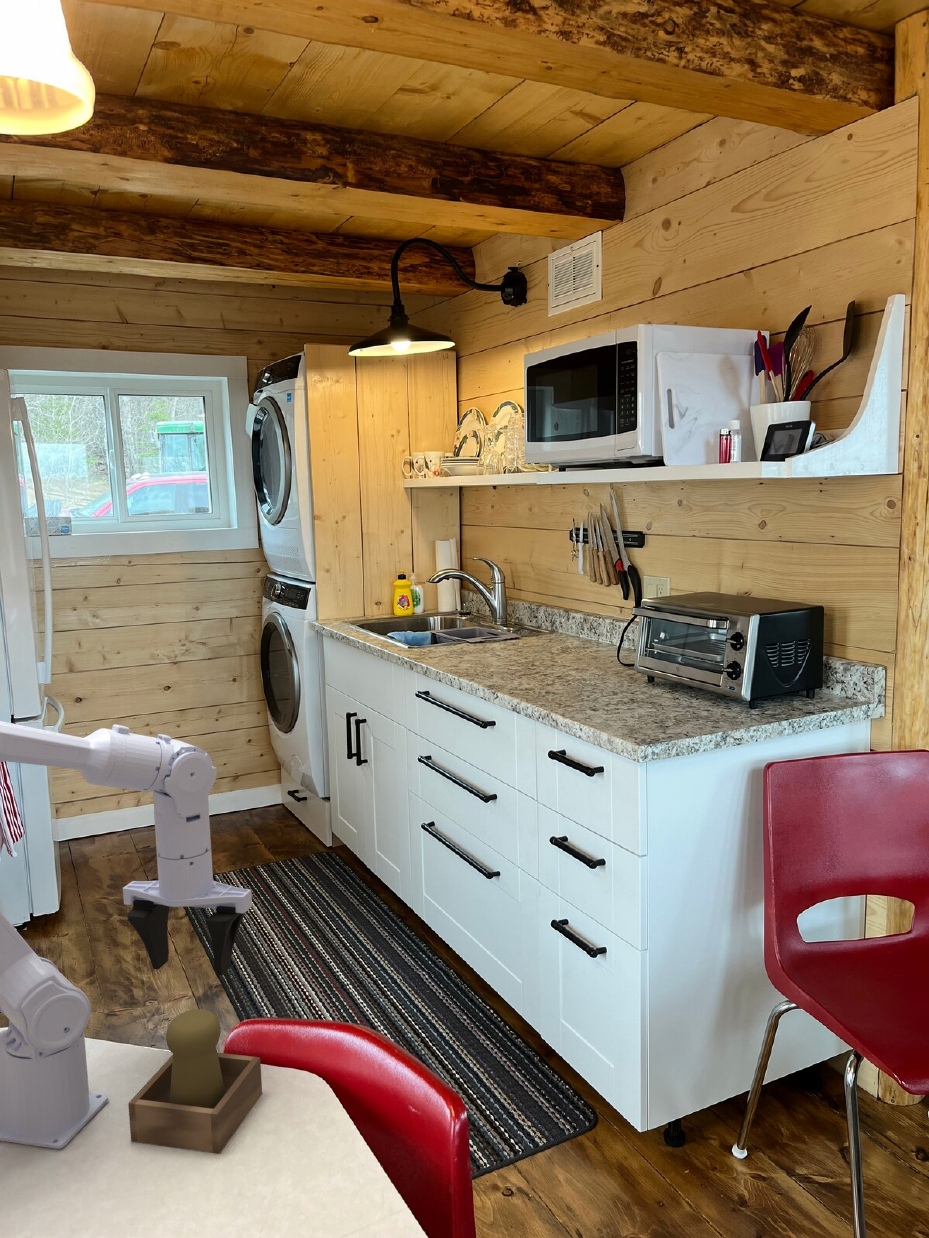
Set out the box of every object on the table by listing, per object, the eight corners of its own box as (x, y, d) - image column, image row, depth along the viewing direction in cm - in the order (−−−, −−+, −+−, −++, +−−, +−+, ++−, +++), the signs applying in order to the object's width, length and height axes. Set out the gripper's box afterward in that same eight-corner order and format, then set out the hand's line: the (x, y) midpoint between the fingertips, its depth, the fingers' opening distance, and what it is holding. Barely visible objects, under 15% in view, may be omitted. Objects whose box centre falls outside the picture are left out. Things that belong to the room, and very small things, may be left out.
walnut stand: (131, 1141, 91) (128, 1102, 91) (180, 1083, 100) (178, 1048, 100) (219, 1153, 89) (217, 1114, 89) (262, 1093, 98) (260, 1057, 98)
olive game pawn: (218, 1140, 91) (211, 1033, 90) (158, 1139, 91) (150, 1033, 90) (237, 1101, 97) (232, 1001, 96) (180, 1100, 97) (174, 1000, 96)
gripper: (261, 840, 105) (267, 956, 106) (144, 834, 108) (152, 946, 110) (232, 864, 98) (239, 987, 99) (108, 856, 101) (117, 975, 103)
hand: (191, 967), depth 104 cm, fingers open, 7 cm apart
